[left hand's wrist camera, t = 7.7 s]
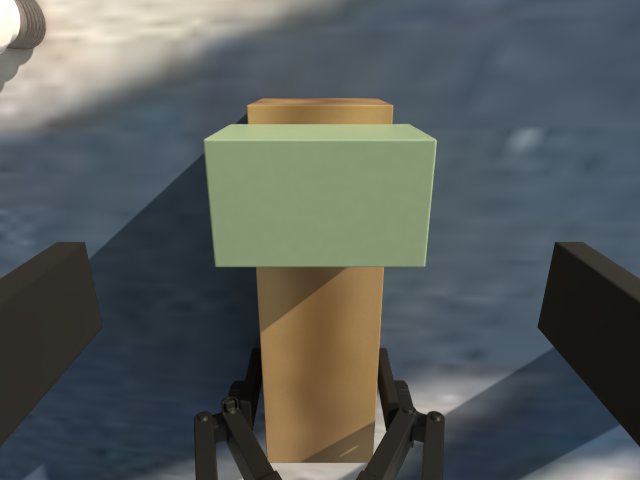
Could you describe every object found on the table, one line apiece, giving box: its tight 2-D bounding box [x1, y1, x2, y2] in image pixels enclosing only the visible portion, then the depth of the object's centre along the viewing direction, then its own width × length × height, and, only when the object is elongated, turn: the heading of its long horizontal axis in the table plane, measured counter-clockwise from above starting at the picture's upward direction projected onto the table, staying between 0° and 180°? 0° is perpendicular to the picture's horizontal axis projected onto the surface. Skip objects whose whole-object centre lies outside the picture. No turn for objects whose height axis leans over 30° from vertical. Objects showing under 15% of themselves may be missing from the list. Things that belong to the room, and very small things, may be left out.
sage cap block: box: [203, 124, 437, 267], centre depth 22 cm, size 10×6×6 cm, turn 90°
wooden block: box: [247, 98, 393, 463], centre depth 32 cm, size 8×26×7 cm, turn 0°
